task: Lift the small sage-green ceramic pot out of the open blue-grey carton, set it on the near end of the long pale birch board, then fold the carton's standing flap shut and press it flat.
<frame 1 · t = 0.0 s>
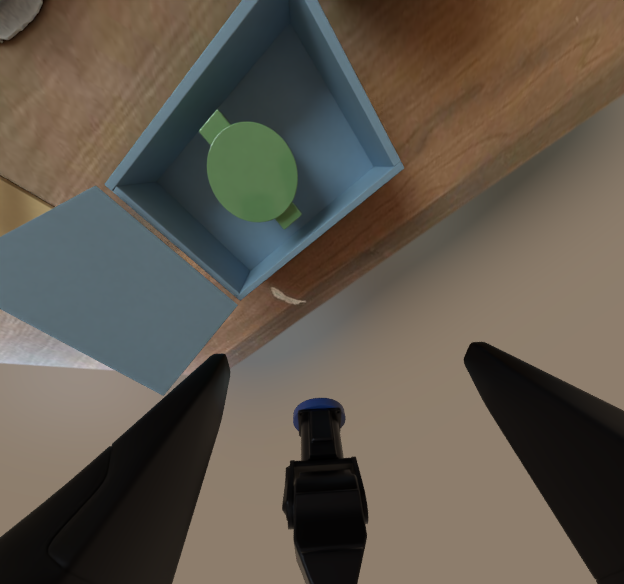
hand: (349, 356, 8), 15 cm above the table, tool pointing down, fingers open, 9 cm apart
pot: (265, 174, 18), resting on carton
flap: (130, 294, 14), point 8 cm above the table, hinge at 130.0°
carton: (266, 173, 18), on the table
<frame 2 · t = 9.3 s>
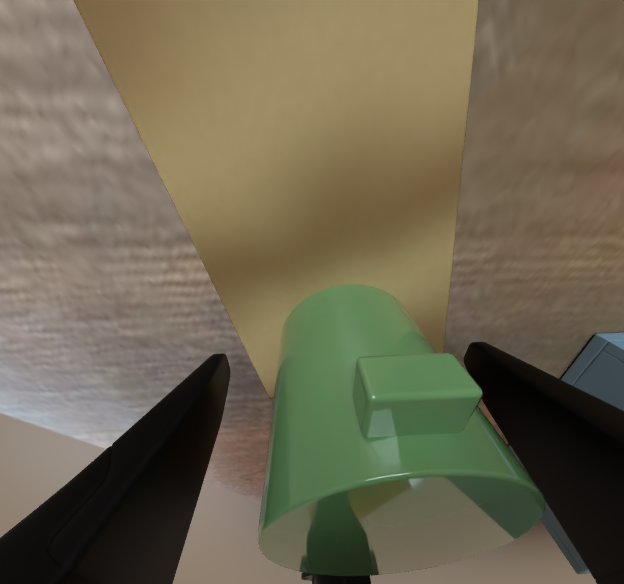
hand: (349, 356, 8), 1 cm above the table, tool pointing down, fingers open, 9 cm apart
pot: (345, 341, 9), resting on board
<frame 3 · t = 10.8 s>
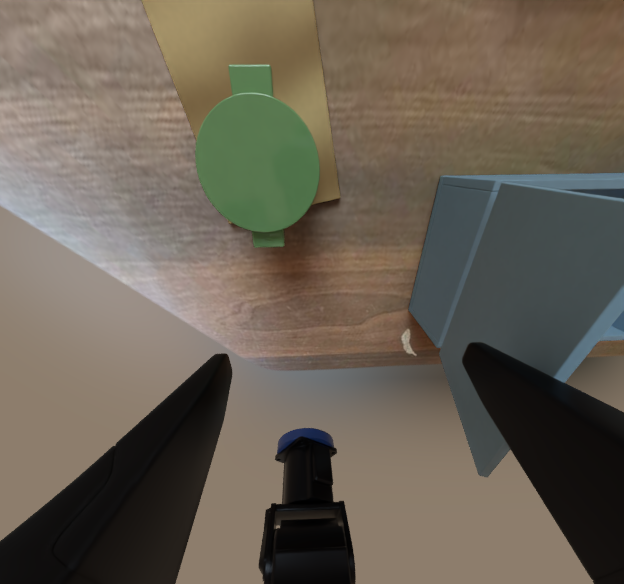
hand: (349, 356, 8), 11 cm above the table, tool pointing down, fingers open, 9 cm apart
pot: (272, 169, 14), resting on board
flap: (494, 323, 10), point 9 cm above the table, hinge at 106.6°
carton: (512, 250, 18), on the table
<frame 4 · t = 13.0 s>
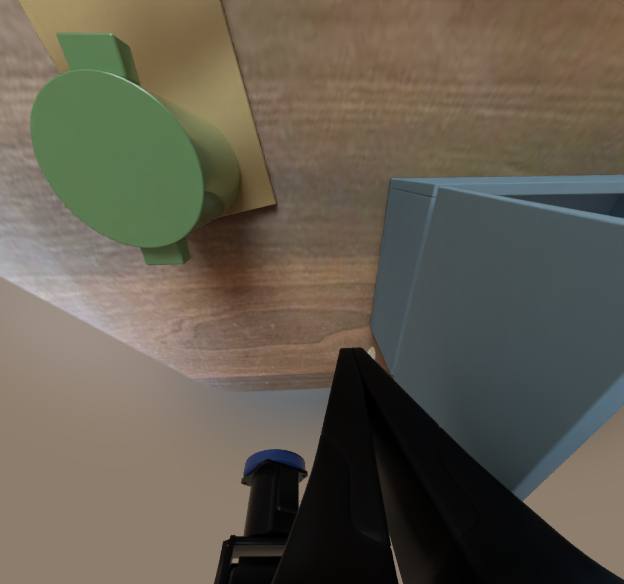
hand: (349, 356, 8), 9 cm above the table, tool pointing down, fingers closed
pot: (192, 171, 12), resting on board
flap: (443, 365, 8), point 9 cm above the table, hinge at 98.7°, touching gripper
carton: (480, 261, 16), on the table
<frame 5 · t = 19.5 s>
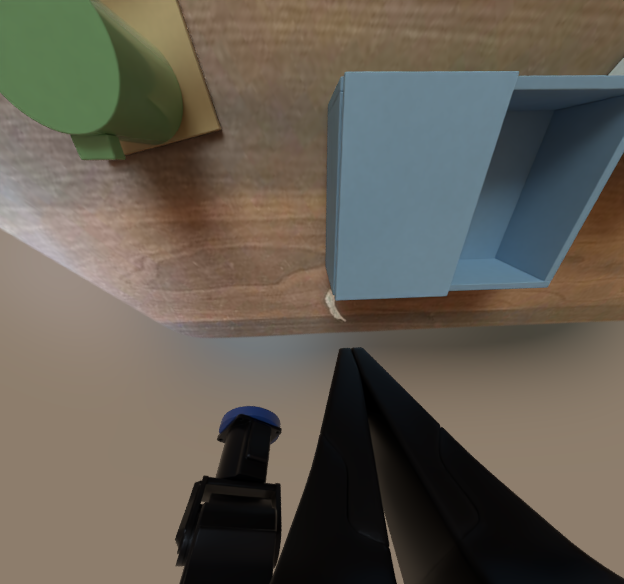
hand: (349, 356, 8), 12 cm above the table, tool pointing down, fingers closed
pot: (136, 92, 13), resting on board
flap: (406, 209, 12), point 6 cm above the table, hinge at -0.2°
carton: (425, 196, 17), on the table
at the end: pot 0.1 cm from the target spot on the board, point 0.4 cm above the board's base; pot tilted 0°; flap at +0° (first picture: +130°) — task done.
